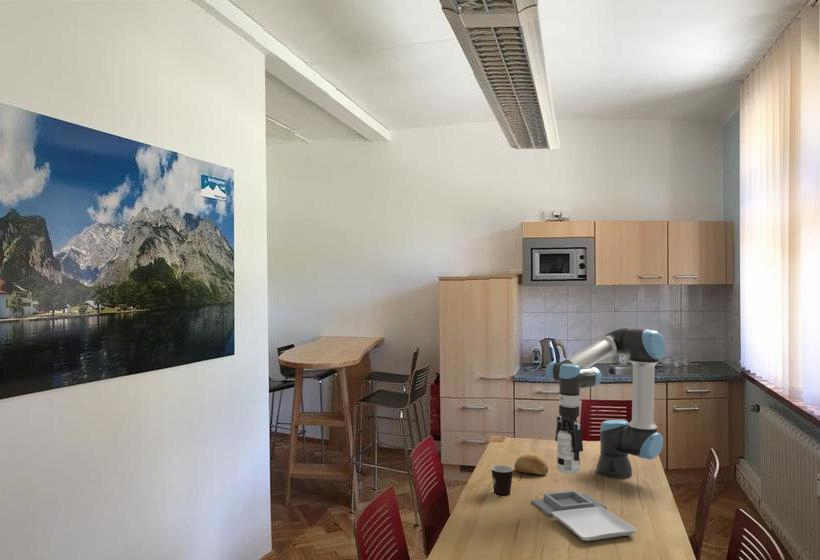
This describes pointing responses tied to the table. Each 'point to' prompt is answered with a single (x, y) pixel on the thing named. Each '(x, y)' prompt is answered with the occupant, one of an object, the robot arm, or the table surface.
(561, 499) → the dock
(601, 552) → the table surface
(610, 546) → the table surface
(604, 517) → the salad plate
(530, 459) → the bread roll
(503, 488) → the coffee mug
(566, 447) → the supplement can
